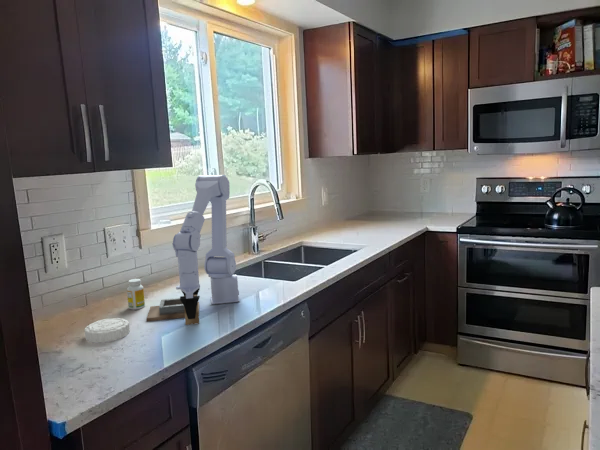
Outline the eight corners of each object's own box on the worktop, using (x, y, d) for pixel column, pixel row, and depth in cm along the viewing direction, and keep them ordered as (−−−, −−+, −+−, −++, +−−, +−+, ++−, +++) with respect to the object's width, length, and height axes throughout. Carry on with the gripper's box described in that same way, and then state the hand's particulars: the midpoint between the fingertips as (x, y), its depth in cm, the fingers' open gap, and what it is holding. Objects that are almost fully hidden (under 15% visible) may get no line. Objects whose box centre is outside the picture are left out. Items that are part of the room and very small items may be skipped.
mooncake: (113, 325, 143) (112, 314, 143) (138, 332, 137) (137, 320, 136) (76, 338, 133) (75, 326, 133) (101, 346, 127) (100, 334, 126)
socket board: (199, 304, 159) (198, 294, 159) (199, 315, 148) (198, 305, 147) (150, 309, 156) (149, 299, 156) (146, 321, 145) (145, 310, 144)
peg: (199, 319, 145) (197, 294, 144) (199, 323, 141) (197, 298, 140) (186, 320, 144) (184, 295, 143) (185, 325, 140) (183, 299, 139)
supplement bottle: (126, 310, 156) (124, 282, 155) (130, 305, 161) (128, 278, 160) (143, 309, 157) (140, 281, 155) (146, 304, 162) (144, 277, 161)
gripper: (176, 267, 146) (179, 308, 148) (173, 278, 132) (177, 324, 134) (199, 265, 148) (201, 306, 150) (198, 276, 134) (202, 321, 136)
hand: (191, 314), depth 142 cm, fingers open, 7 cm apart
